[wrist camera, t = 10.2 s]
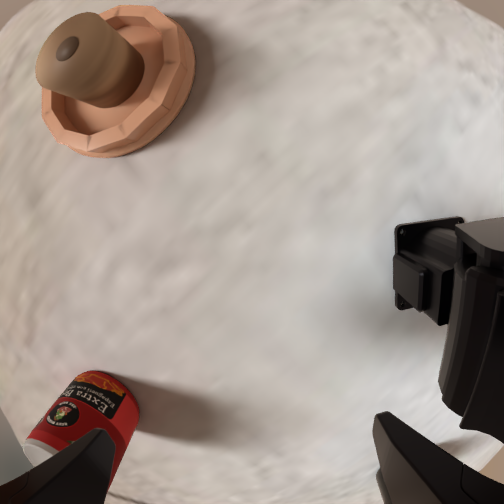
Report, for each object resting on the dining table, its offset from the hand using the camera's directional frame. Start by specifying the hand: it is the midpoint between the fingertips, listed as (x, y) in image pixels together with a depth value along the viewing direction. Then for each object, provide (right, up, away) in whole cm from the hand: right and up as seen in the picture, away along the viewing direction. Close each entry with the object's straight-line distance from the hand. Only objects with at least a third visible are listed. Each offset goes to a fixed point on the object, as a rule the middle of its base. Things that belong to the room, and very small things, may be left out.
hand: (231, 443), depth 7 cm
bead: (-9, +18, +8) cm, 22 cm away
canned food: (-14, -9, +16) cm, 23 cm away
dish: (-9, +18, +9) cm, 22 cm away
